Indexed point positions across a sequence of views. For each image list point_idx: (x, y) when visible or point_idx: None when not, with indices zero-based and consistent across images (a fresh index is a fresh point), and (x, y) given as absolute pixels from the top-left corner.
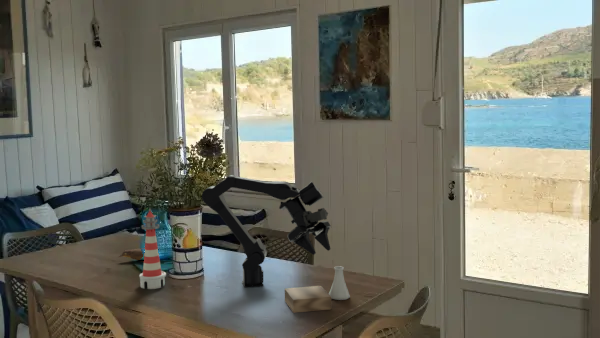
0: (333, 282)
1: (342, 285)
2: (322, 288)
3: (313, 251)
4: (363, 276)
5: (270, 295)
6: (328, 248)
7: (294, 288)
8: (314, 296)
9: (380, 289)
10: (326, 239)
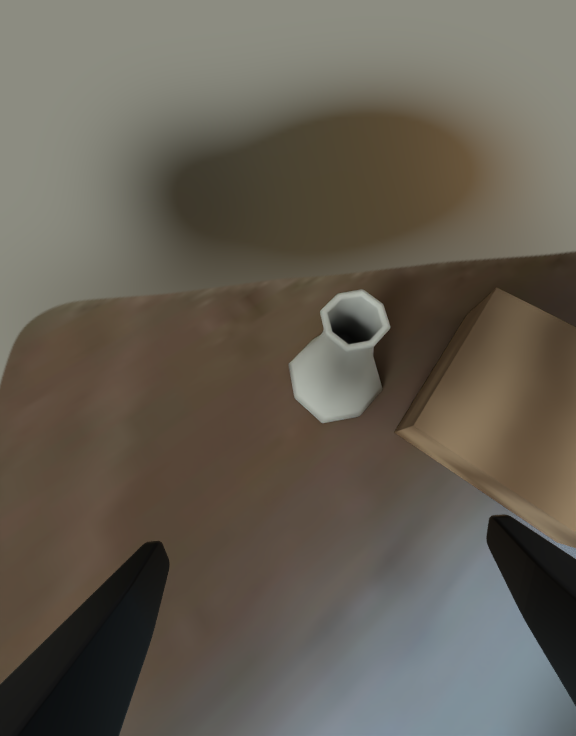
0: (366, 373)
1: (352, 330)
2: (441, 387)
3: (538, 544)
4: (8, 474)
5: None
6: (155, 568)
7: (566, 510)
8: (559, 339)
9: (157, 314)
10: (30, 715)
